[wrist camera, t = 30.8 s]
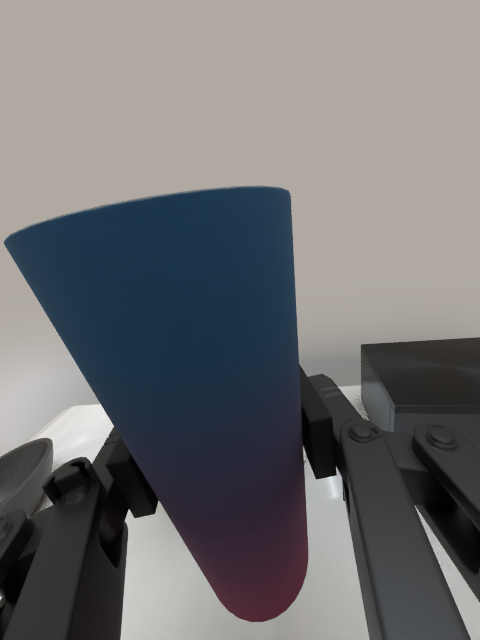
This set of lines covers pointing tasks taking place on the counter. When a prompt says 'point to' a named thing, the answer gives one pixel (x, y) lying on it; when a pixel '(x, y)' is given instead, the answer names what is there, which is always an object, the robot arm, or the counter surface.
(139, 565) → the counter surface
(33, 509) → the bowl
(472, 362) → the drawer box
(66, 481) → the robot arm
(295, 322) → the cup
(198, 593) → the counter surface
